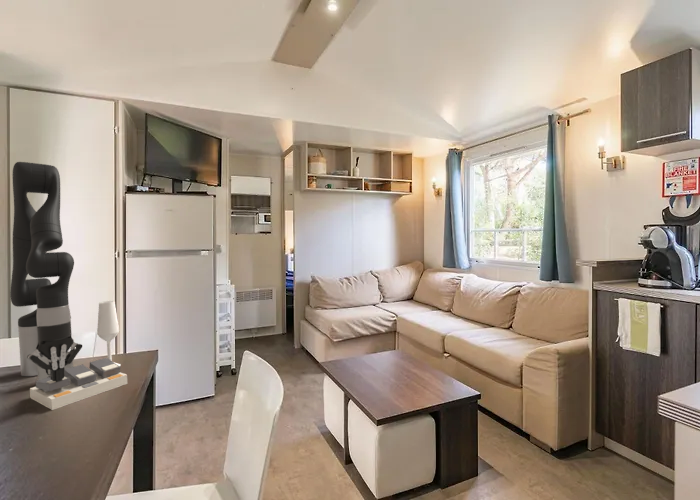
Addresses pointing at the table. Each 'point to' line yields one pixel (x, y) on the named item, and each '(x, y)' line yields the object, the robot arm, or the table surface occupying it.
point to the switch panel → (77, 391)
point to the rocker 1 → (51, 384)
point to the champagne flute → (107, 324)
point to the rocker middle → (80, 375)
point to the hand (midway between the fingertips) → (57, 381)
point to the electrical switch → (46, 373)
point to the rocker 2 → (104, 367)
